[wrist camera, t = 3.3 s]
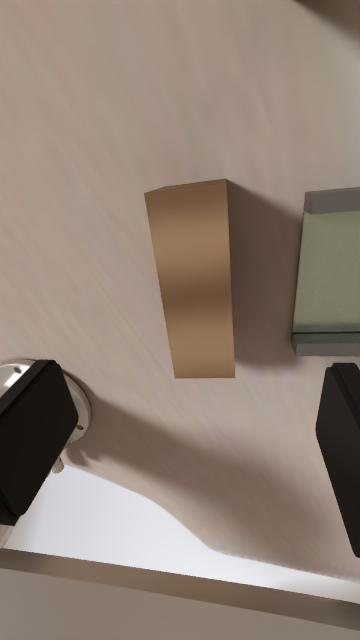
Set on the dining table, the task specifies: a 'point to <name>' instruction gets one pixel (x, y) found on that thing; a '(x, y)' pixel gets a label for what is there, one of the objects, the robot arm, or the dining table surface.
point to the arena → (328, 276)
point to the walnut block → (194, 275)
